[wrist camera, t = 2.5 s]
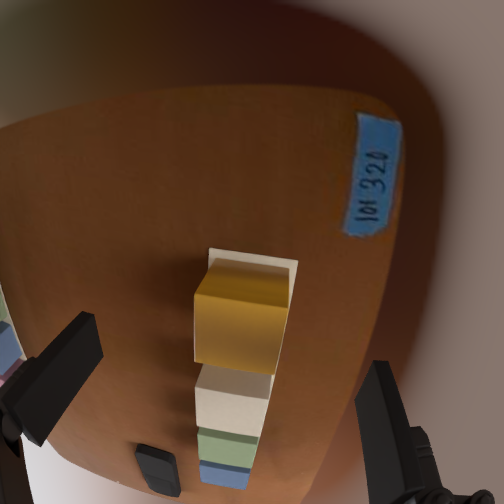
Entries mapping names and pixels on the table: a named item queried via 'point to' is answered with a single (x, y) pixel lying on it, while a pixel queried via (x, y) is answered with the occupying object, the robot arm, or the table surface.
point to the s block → (241, 315)
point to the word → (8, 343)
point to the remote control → (159, 470)
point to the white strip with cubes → (233, 403)
